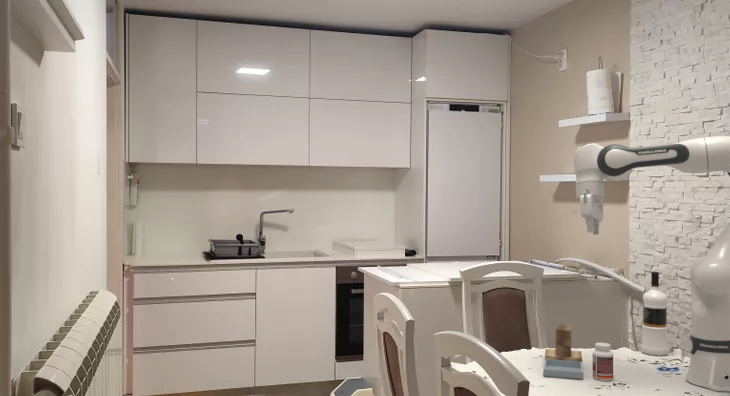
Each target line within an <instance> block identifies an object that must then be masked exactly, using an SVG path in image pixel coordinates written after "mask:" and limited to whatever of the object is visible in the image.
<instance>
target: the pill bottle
mask: <svg viewBox="0 0 730 396" xmlns="http://www.w3.org/2000/svg"><path fill="white" fill-rule="evenodd" d="M611 346H612V345H611V344H610V343H607V342H595V344H594V350H593V351H592V378H593V379H594V380H596V381H601V382H610V381H613V380H614V353H613V352H612V351H611V348H612V347H611Z"/></svg>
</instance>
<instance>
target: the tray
mask: <svg viewBox="0 0 730 396" xmlns="http://www.w3.org/2000/svg"><path fill="white" fill-rule="evenodd" d="M543 378H553V379H563V380H565V379H566V380H573V381H584V368H583V361H582V362H578V361H565V360H552V359H545V358H544V363H543Z"/></svg>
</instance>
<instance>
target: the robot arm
mask: <svg viewBox="0 0 730 396" xmlns="http://www.w3.org/2000/svg"><path fill="white" fill-rule="evenodd" d="M573 155H574V156H573V159H574V160H573V162H574V163H573V168H574V174H575V177H576V178H575V179H576V180H575V195H576V199H577V200H578V199H579V202H580V203H579V204H580V205H579V206H580V216H581V218H582V219H585V225H586V229H587V230H586V231H587V233H589V234H591V233H592V234H593V236H597V235H600V223H601V222H603V220H604V200H605V196H606V195H605V182H604V180H605V181H615V182H617V181H618V182H620V181H623V180H625V179H627V178H629V176H630V175H631V173H632V172H633V169H639V168H650V167H661V166H662V167H669V168H673V169H675V170H677V171H679V172H682V173H685V174H686V173H687V174H704V173H713V172H726V173H727V174H728V176H729V177H730V136H729V135H717V136H715V135H714V136H704V137H696V138H692V139H686V140H682V141H678V142H674V143H673V142H672V143H668V144H662V145H661V144H660V145H649V146H640V147H638V146H637V147H630V146H626V145H622V144H617V143H614V144H612V143H611V144H609V145H606V146H602V145H600V144H598V143H597V142H590V143H585V144H583V145H581V146H579V147H578V148H576V149H575V152H574V154H573ZM689 274H690V275H689V276H690V277H689V279H690V297H691V302H690V303H691V334H690V337H689V338H690V339H689V352H690V359H689V366H688V370H687V373H686V376H685V381H687V382H688V383H689V384H693V385H696V386H698V387H699V386H700V387H703V388H707V389H709V390H712V391H715V392H727V393H728V392H730V222H729V223H727V225H726V227H725V228H723V230H722V231H721V232H720V234H719V235H718V238H717V239H716V240H715V242H714V243H713V245H712V247H711V248H710V250H709V251H708V253H706V255H703V256H700V257H698V258H696V259H695V260H694V261H693V263H692V264H691V266H690V270H689Z"/></svg>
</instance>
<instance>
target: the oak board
mask: <svg viewBox="0 0 730 396" xmlns="http://www.w3.org/2000/svg"><path fill="white" fill-rule="evenodd" d="M545 359H552V360H565V361H578V362H582V363H583V356H582V350H571V357H562V356H556V348H545V352H544V360H545Z"/></svg>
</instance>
